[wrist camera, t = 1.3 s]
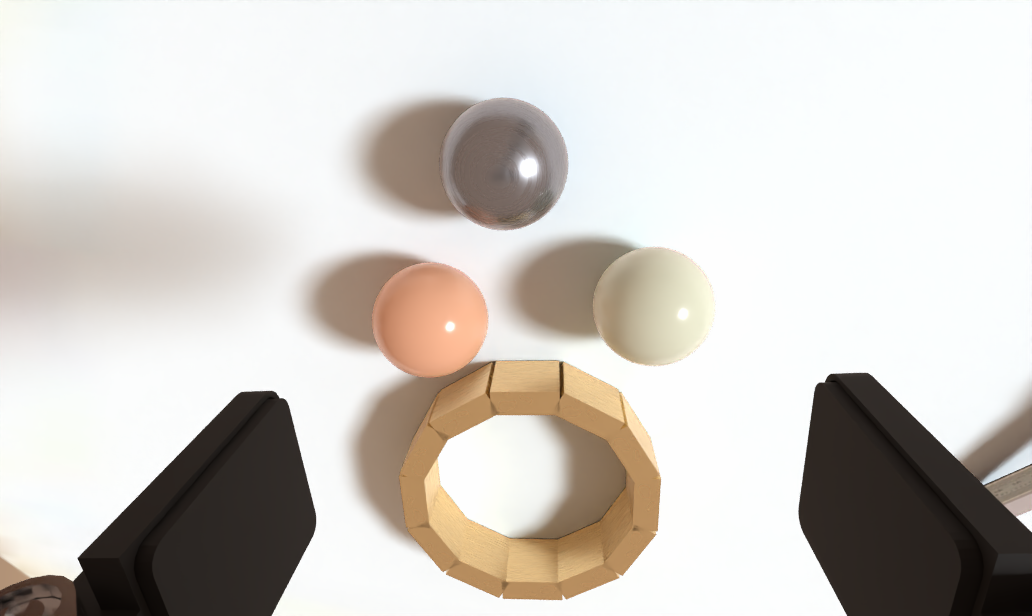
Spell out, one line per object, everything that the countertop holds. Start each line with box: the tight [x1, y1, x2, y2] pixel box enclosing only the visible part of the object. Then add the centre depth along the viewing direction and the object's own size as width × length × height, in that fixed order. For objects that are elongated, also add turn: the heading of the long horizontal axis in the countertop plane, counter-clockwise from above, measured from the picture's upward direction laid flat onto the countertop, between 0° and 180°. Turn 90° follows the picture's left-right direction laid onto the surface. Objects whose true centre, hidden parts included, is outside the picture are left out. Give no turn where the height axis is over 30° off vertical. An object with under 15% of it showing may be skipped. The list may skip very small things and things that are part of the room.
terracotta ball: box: [372, 262, 488, 378], centre depth 26 cm, size 5×5×5 cm
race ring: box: [399, 361, 661, 600], centre depth 30 cm, size 12×12×3 cm
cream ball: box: [593, 247, 715, 366], centre depth 25 cm, size 5×5×5 cm
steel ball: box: [439, 98, 568, 230], centre depth 23 cm, size 5×5×5 cm
